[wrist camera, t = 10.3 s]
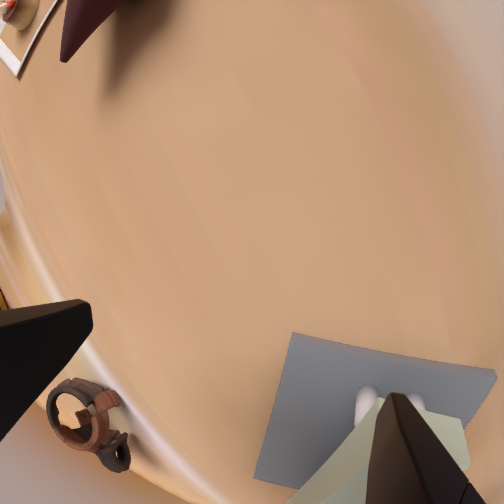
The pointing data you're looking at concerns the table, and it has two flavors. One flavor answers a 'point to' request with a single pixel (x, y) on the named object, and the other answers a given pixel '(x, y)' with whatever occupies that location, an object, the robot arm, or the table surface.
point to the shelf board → (358, 455)
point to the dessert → (18, 27)
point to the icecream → (83, 22)
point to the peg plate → (352, 400)
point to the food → (2, 303)
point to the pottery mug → (91, 423)
